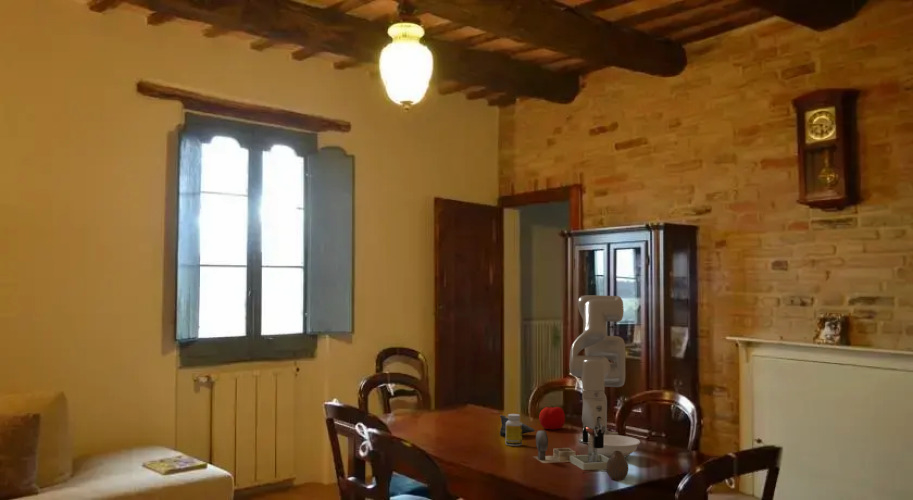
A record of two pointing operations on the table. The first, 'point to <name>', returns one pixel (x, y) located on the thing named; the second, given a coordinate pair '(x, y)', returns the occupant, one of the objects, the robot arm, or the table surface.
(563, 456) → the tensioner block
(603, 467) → the tray
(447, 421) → the table surface
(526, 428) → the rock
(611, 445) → the bowl
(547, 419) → the tomato
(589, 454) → the lock pin
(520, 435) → the pill bottle
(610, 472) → the vase
